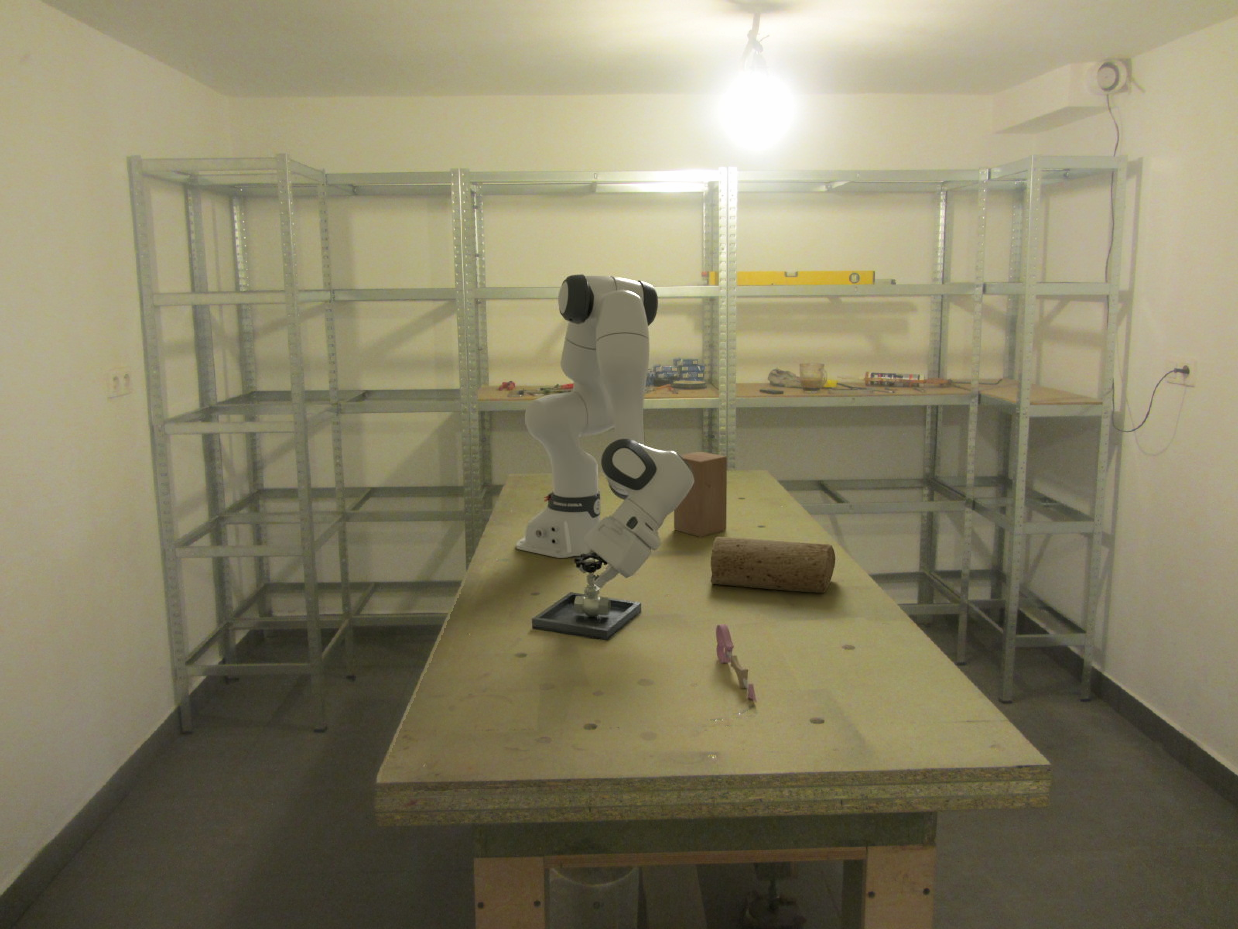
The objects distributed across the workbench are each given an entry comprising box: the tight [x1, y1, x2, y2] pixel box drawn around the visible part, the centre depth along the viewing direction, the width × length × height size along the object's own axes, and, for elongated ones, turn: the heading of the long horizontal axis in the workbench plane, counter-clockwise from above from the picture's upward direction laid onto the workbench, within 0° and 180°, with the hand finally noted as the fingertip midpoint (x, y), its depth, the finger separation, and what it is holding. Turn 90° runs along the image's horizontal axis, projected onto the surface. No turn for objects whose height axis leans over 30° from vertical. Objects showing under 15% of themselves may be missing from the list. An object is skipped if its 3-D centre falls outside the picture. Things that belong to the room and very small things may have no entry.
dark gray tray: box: [531, 591, 642, 642], centre depth 178 cm, size 16×16×2 cm
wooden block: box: [673, 451, 728, 538], centre depth 237 cm, size 10×10×20 cm
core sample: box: [710, 536, 836, 594], centre depth 196 cm, size 14×26×10 cm, turn 72°
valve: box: [573, 553, 611, 616], centre depth 177 cm, size 7×7×12 cm
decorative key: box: [715, 623, 757, 703], centre depth 151 cm, size 7×1×20 cm
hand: (587, 578), depth 177 cm, fingers open, 8 cm apart
